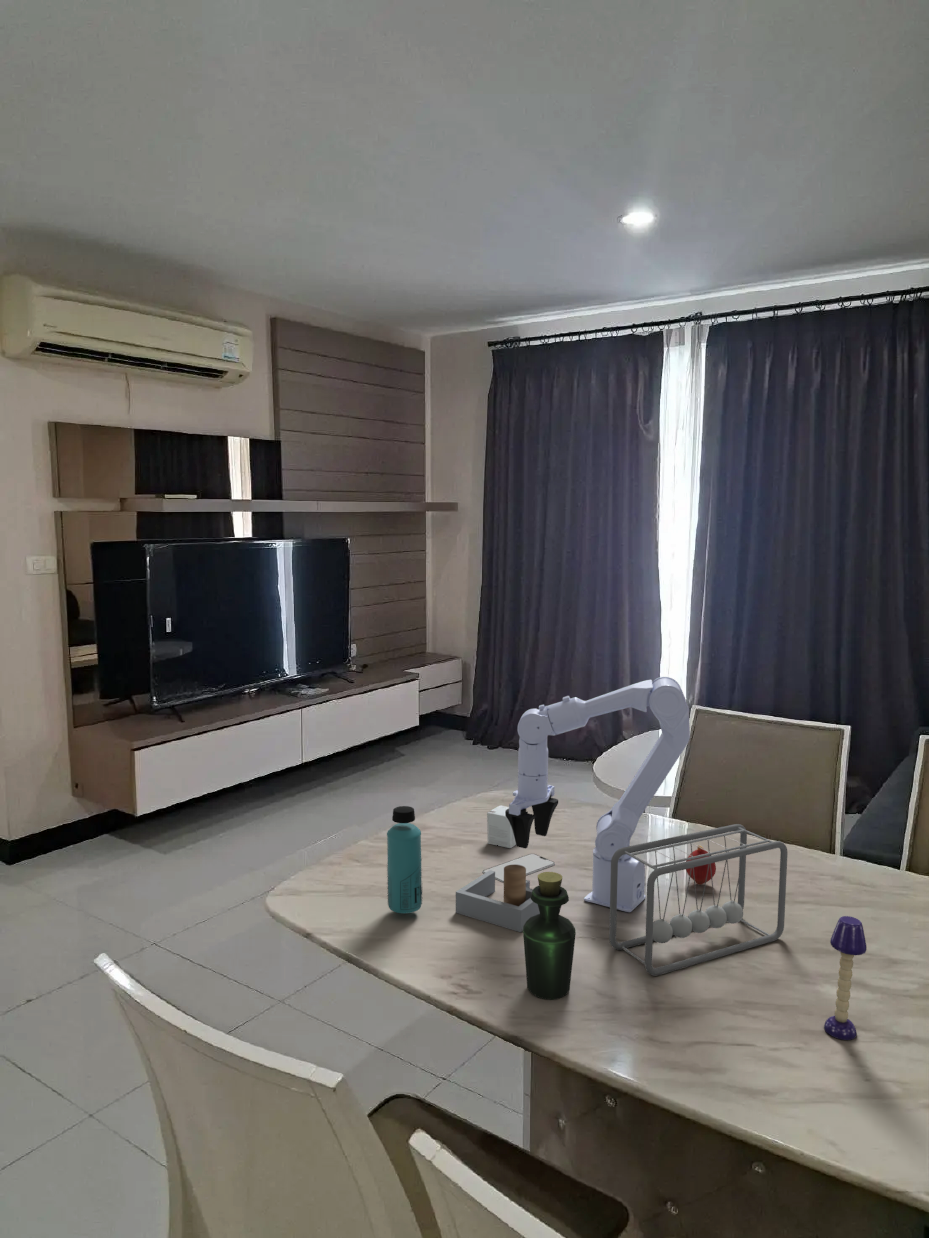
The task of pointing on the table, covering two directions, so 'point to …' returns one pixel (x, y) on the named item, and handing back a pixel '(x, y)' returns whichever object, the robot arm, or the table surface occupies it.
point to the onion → (701, 868)
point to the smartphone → (528, 861)
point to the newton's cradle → (696, 918)
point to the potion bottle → (549, 940)
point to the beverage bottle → (404, 862)
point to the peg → (514, 884)
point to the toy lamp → (845, 974)
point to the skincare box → (499, 828)
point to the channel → (493, 904)
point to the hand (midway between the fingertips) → (531, 840)
